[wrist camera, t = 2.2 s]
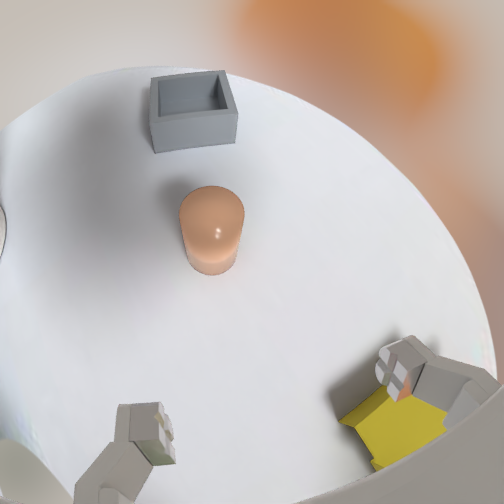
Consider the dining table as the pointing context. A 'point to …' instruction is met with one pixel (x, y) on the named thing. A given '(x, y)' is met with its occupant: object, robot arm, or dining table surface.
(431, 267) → the dining table surface
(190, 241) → the canister
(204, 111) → the gray open box
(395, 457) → the yellow box with tab
